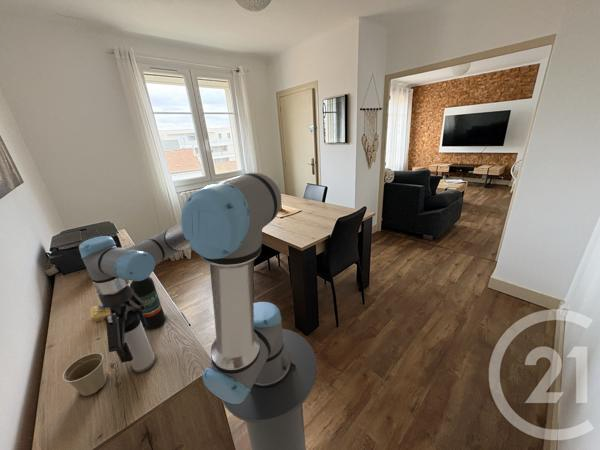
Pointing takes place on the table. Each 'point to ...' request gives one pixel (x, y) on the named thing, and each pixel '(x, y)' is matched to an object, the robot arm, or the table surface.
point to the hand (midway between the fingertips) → (135, 342)
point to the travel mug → (138, 343)
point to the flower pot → (86, 374)
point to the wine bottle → (149, 302)
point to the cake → (99, 312)
